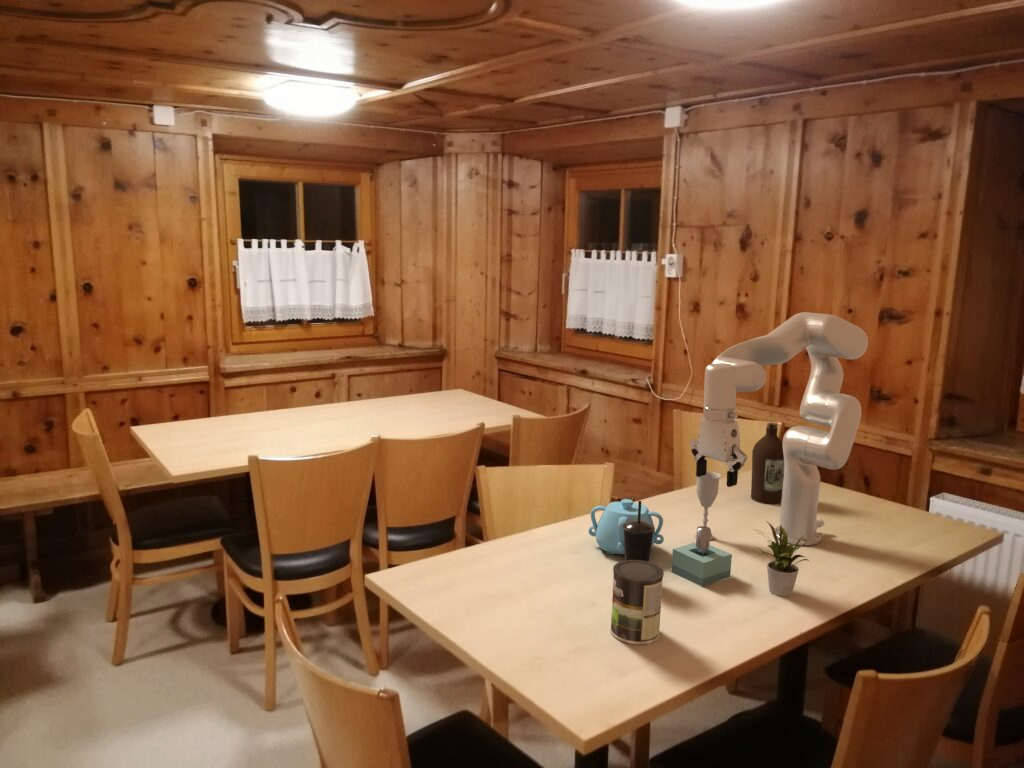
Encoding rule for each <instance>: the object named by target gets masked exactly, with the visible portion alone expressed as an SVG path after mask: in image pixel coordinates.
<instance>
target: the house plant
mask: <svg viewBox="0 0 1024 768" xmlns="http://www.w3.org/2000/svg"><path fill="white" fill-rule="evenodd" d="M765 522H766V523H767V524H768V526H769V527H770V529H771V533H772V536H773V539H774V541H772V540H771V539H770V538H768V537H767V536H766V535H765V534H764V532H762V531H761V530H758V529H755V531H757V534H758V535H759V534H760V535H761V536H763V537H764V538H766V537H767V538H768V539H769V540H768V539H767V538H766V541H767V543H768V544H767V547H768V548H769V549H770V550H771V551H772V553H773V554H772V553H770V552H767V551H763V550H762V548H760V547H756V546H754V549H755V548H756V549H759V550H760V551H761V552H759V553H758V554H757V556H756V557H760V556H762V555H763V556H764V555H770V556H771V557H773V560H770V561H769V562H767V564H766V568H767V569H766V571H767V579H768V590H769V593H771V594H772V595H774V596H778V597H790V596H792V594H793V592H794V588H795V585H796V581H797V577H798V573H799V567H798V566H797V565H796V564H798V563H800V562H803V561H808V562H810V560H809V559H807V557H806V556H804V555H803V554H796V552H797V551H798V550H799V549H800V548H801V549H802V547H804V546H806V545H805V544H806V543H808V542H811V541H815V540H810V541H807V542H806V543H804V544H802V545H798V543H799V542H800V541H801V539H802V537H803V536H804V535H803V536H802V537H801V538H800V539H799V540H798V542H797V543H796V544H790V543H788V537H787V535H788V533H786V531H785V529H784V528H782V526H781V524H780V523H779V525H780V532H779V539H777V535H776V532H775V529H774V526H773V525H772V524H771V523H770V522H769V521H766V520H765ZM751 530H753V529H751ZM789 531H790V530H789ZM759 532H760V533H759ZM764 535H765V536H764ZM782 536H783V538H782ZM794 554H795V555H794ZM798 558H802V559H800V560H798V561H796V560H797V559H798ZM794 561H796V562H795V563H793V562H794Z"/></svg>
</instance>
